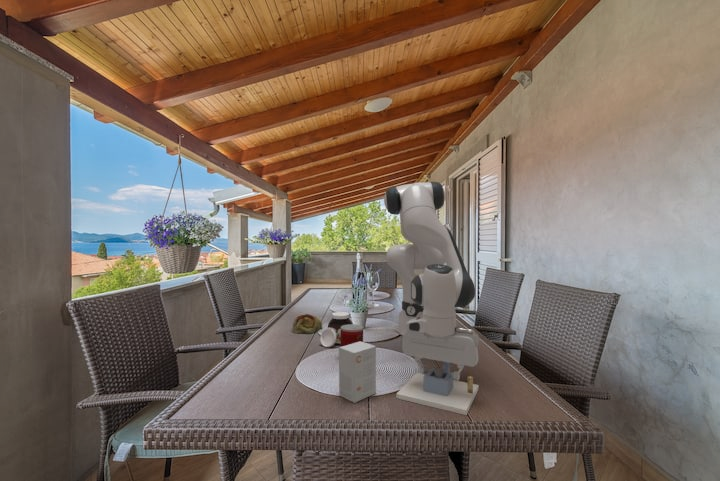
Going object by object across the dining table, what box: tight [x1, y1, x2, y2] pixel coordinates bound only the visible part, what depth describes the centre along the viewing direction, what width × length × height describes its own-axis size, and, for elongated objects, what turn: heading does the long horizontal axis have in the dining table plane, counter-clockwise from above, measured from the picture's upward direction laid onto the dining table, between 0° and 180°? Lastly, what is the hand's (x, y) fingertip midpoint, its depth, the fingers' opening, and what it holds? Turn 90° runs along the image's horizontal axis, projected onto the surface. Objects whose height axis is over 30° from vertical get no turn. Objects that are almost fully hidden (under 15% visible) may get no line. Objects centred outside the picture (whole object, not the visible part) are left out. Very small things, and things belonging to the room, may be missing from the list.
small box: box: [338, 341, 377, 404], centre depth 94 cm, size 8×6×13 cm
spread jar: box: [320, 311, 354, 348], centre depth 137 cm, size 12×11×12 cm
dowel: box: [467, 375, 474, 393], centre depth 93 cm, size 1×1×4 cm
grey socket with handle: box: [423, 361, 454, 396], centre depth 97 cm, size 12×6×5 cm, turn 151°
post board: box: [396, 366, 479, 416], centre depth 94 cm, size 16×18×7 cm
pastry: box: [292, 313, 323, 335], centre depth 157 cm, size 14×12×8 cm
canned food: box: [339, 323, 364, 347], centre depth 121 cm, size 8×8×11 cm
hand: (438, 375), depth 95 cm, fingers open, 8 cm apart
